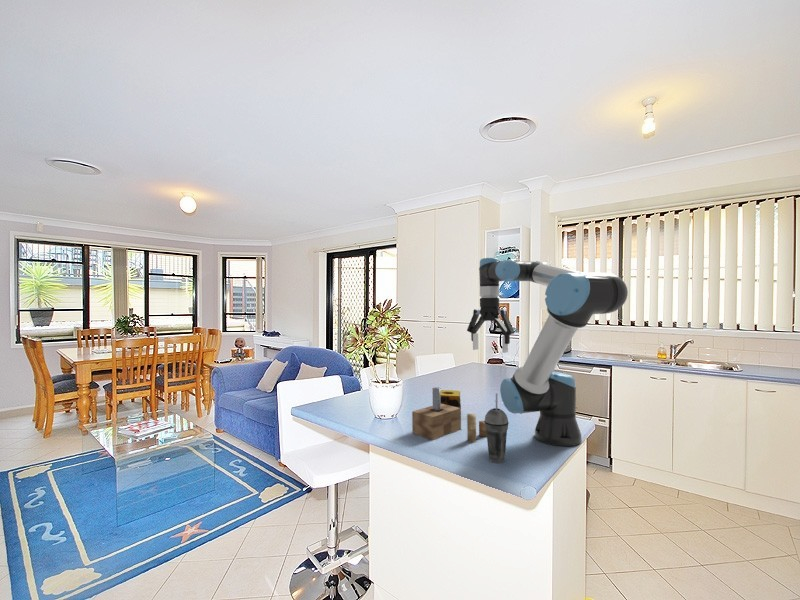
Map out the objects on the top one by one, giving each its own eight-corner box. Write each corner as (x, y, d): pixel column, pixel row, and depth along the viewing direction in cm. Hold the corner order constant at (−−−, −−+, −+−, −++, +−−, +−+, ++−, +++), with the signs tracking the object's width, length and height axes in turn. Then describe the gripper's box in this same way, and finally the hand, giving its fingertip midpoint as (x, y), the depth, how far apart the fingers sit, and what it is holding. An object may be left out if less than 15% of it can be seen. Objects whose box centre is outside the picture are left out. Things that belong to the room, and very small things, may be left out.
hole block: (460, 429, 146) (460, 408, 146) (432, 440, 135) (432, 417, 135) (440, 423, 154) (440, 403, 154) (412, 433, 143) (412, 411, 143)
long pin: (442, 431, 144) (442, 388, 145) (437, 433, 142) (436, 389, 142) (436, 429, 147) (436, 387, 147) (431, 431, 145) (430, 388, 145)
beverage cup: (482, 462, 116) (482, 396, 116) (486, 453, 123) (485, 390, 123) (508, 466, 113) (507, 398, 113) (510, 457, 120) (509, 392, 120)
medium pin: (477, 440, 134) (477, 414, 134) (472, 443, 132) (472, 416, 132) (470, 438, 136) (470, 413, 136) (465, 440, 134) (465, 414, 134)
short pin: (489, 435, 139) (489, 421, 139) (484, 438, 137) (484, 423, 137) (482, 433, 141) (482, 420, 141) (477, 435, 139) (477, 422, 139)
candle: (460, 420, 157) (460, 396, 157) (435, 419, 159) (435, 395, 159) (461, 413, 167) (461, 390, 167) (438, 412, 169) (437, 389, 169)
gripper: (523, 296, 147) (523, 352, 147) (469, 297, 165) (469, 347, 165) (512, 296, 142) (513, 354, 142) (458, 297, 160) (458, 349, 160)
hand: (489, 351), depth 153 cm, fingers open, 13 cm apart
